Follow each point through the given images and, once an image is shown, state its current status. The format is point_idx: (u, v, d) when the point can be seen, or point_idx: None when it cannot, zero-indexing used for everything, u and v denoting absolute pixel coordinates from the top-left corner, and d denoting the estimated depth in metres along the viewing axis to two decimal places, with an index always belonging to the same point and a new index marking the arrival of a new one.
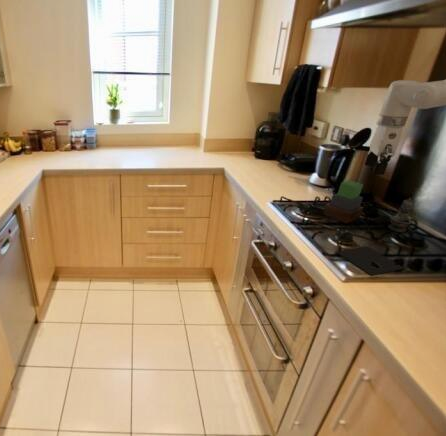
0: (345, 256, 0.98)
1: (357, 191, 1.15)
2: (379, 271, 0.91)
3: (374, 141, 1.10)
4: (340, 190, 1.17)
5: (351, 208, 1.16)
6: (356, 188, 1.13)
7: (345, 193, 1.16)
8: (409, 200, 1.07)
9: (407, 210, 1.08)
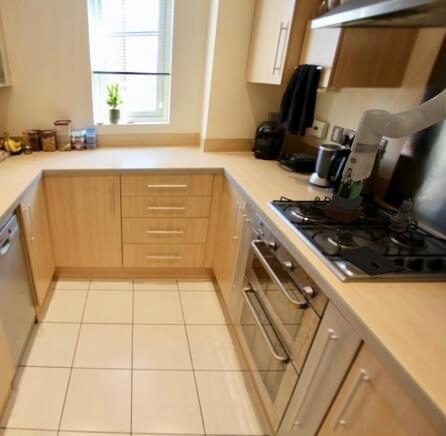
0: (345, 256, 0.98)
1: (357, 191, 1.15)
2: (379, 271, 0.91)
3: None
4: (340, 190, 1.17)
5: (351, 208, 1.16)
6: (356, 188, 1.13)
7: None
8: (409, 200, 1.07)
9: (407, 210, 1.08)
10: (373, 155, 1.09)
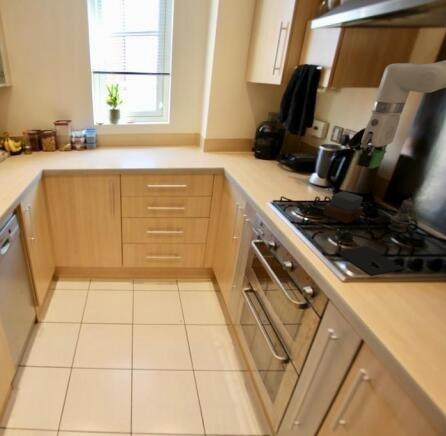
0: (345, 256, 0.98)
1: (378, 159, 1.02)
2: (379, 271, 0.91)
3: None
4: None
5: (351, 208, 1.16)
6: (377, 155, 1.01)
7: None
8: (409, 200, 1.07)
9: (407, 210, 1.08)
10: (397, 116, 0.97)
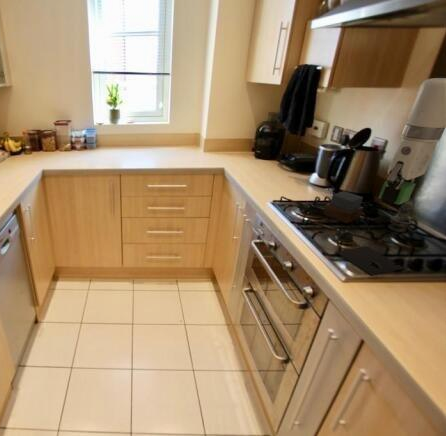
0: (345, 256, 0.98)
1: (407, 193, 0.84)
2: (379, 271, 0.91)
3: None
4: (383, 192, 0.87)
5: (351, 208, 1.16)
6: (407, 189, 0.83)
7: None
8: (409, 200, 1.07)
9: (407, 210, 1.08)
10: (434, 143, 0.78)
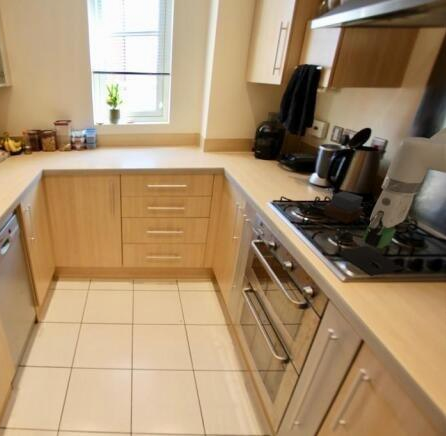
0: (345, 256, 0.98)
1: (388, 238, 0.90)
2: (379, 271, 0.91)
3: None
4: (366, 235, 0.93)
5: (351, 208, 1.16)
6: (387, 235, 0.89)
7: None
8: None
9: None
10: (412, 195, 0.84)
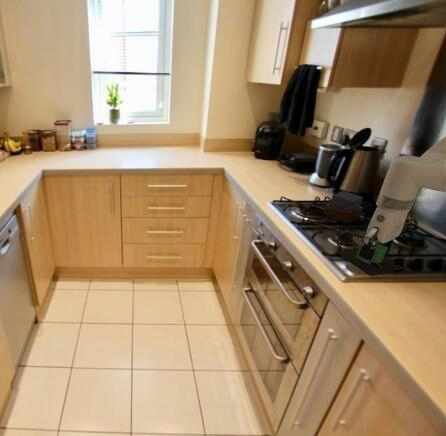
0: (345, 256, 0.98)
1: (381, 256, 0.93)
2: (379, 271, 0.91)
3: None
4: None
5: (351, 208, 1.16)
6: (380, 253, 0.92)
7: None
8: None
9: None
10: (405, 211, 0.87)
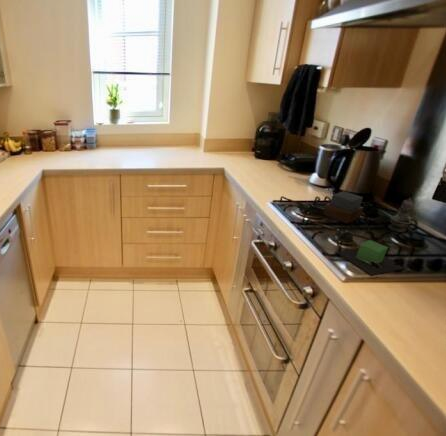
0: (345, 256, 0.98)
1: (381, 256, 0.93)
2: (379, 271, 0.91)
3: None
4: (359, 253, 0.96)
5: (351, 208, 1.16)
6: (380, 253, 0.92)
7: (365, 257, 0.94)
8: (409, 200, 1.07)
9: (407, 210, 1.08)
10: None
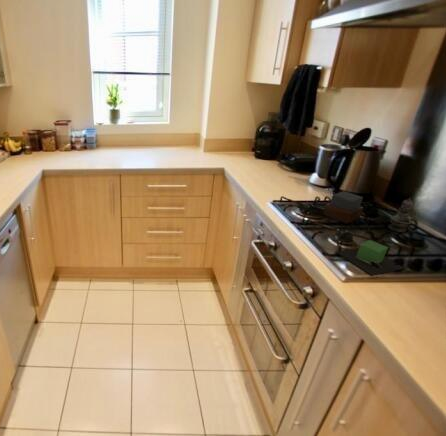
0: (345, 256, 0.98)
1: (381, 256, 0.93)
2: (379, 271, 0.91)
3: None
4: (359, 253, 0.96)
5: (351, 208, 1.16)
6: (380, 253, 0.92)
7: (365, 257, 0.94)
8: (409, 200, 1.07)
9: (407, 210, 1.08)
10: None
